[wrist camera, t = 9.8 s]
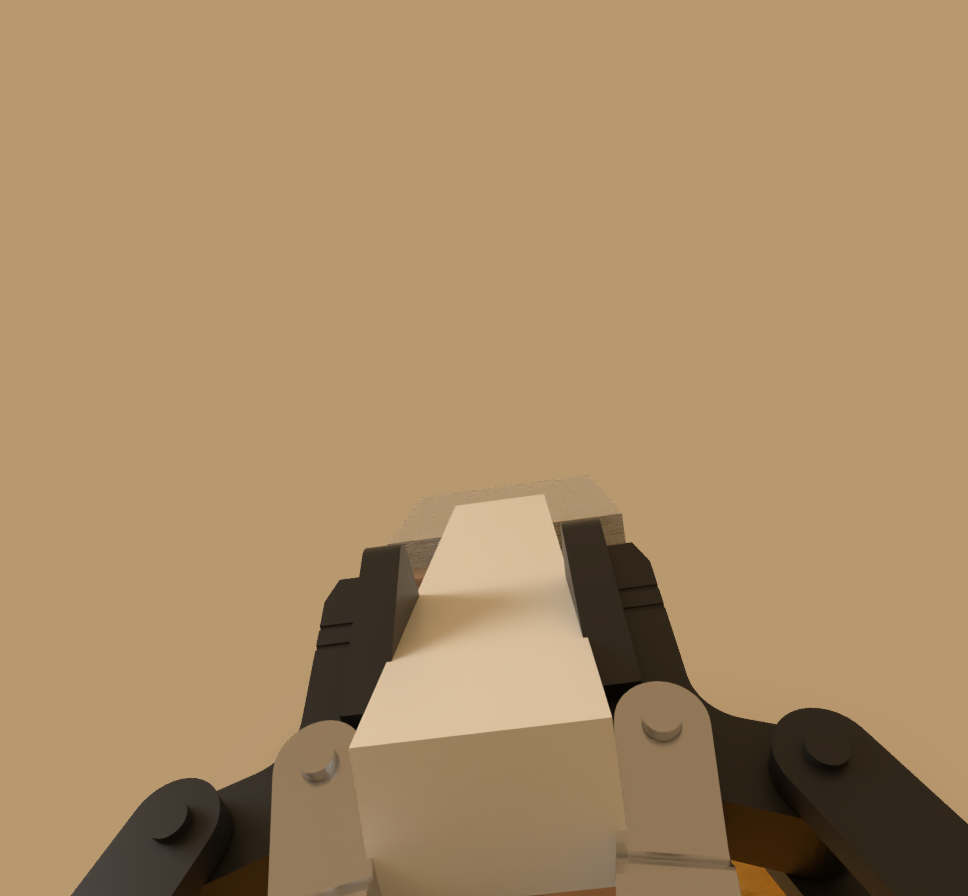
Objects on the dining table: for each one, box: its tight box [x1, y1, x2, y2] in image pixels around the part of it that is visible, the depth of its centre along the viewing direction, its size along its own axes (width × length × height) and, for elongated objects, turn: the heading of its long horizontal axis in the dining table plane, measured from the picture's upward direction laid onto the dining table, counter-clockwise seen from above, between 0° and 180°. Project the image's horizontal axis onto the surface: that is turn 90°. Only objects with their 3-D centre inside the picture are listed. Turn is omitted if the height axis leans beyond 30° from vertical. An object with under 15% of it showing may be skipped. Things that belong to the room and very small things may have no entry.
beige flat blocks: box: [349, 475, 627, 896], centre depth 21 cm, size 26×8×2 cm, turn 178°
